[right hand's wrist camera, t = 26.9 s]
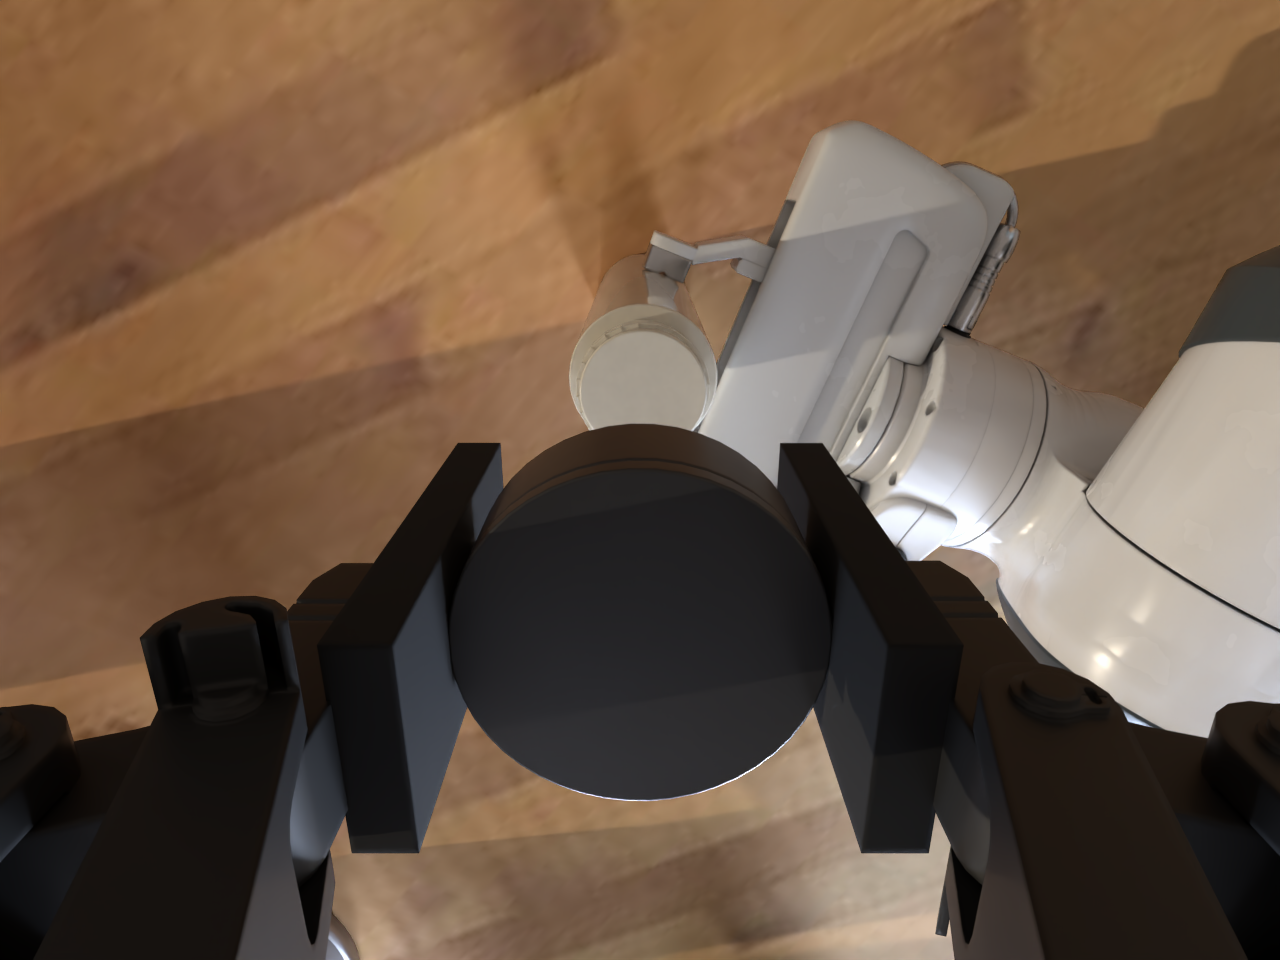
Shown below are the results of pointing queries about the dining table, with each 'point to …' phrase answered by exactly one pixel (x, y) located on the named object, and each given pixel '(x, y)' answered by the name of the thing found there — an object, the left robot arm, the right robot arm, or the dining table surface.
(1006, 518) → the left robot arm
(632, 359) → the slim white bottle
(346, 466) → the dining table surface
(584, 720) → the lid
